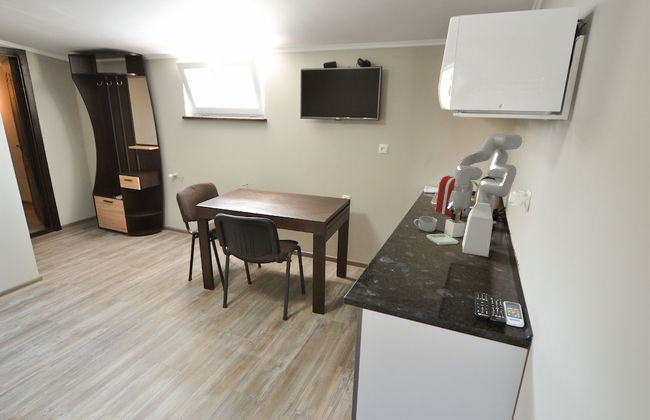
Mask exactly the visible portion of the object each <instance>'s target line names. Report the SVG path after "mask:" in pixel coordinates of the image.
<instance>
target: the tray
mask: <svg viewBox="0 0 650 420" xmlns="http://www.w3.org/2000/svg"><path fill="white" fill-rule="evenodd" d="M426 239H427V240H429V241H430V242H431V243H434V244H435V245H437V246H443V245H455V244H459V240H457V239H456V238H455V237H451V236H449V235H447V234H446V233H435V234H434V233H433V234H426Z"/></svg>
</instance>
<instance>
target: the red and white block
mask: <svg viewBox="0 0 650 420" xmlns="http://www.w3.org/2000/svg"><path fill="white" fill-rule="evenodd" d="M455 178H456V175H455V176H453V175H444V176H442V178H440V181H439V182H438V183H439V184H438V187H437V188H438V189H437V196H436V203H435V208H434V211H435V212H437V213H439V214H441V215H445V216H447V217H450V218H451V214H452V213H451V211H450V210H449V209H447V208H448V205H449V200H450V196H451V193H452V191H454V185H455ZM473 191H474V184H473V180H470V181H469V189H468V209H466V210H465V211H464V213H463V214H462V217H468V216H469V213H470V208H471V201H472V196H473ZM451 209H452V207H451Z"/></svg>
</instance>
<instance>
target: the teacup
mask: <svg viewBox="0 0 650 420" xmlns="http://www.w3.org/2000/svg"><path fill="white" fill-rule="evenodd" d="M417 222H418V224H417ZM437 223H438V219H437V218H435V217H433V216H430V215H429V216H428V215H422V216H421V215H420V216H419V218H416V219H414V220H413V224H414V225H415V226H416V227H417V228H418V229H419V230H421V231H422V232H425V233H432V232H434V231H435V230H436V228H437V225H438V224H437Z"/></svg>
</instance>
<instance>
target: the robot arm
mask: <svg viewBox="0 0 650 420" xmlns="http://www.w3.org/2000/svg"><path fill="white" fill-rule="evenodd" d="M522 143H523V137H522V136H521V135H520V134H513V133H490V134H489V135H488V136H486V137H485V139H484V141H483V142H482V143H481V145H480V146H479V148H477V150H476V151H475V152H471V153H470V154H468V155H467V156H465V157H463V159H462V160H461V161H460V162H459V164H458V165H457V167H456V170H455V177H456V178H455V185H454V191H452V193H451V196H450V200H449V205H448V208H447V209H449V210H450V211H451V213H452V214H451V217H450V219H452V220H455V218H456V214H455V213H456V210H457V209H461V213H460V219H459V220H460V221H462V218H463V216H462V214H463V213H464V211H465V210H466V209H468V189H469V181H470V180H471V181H478V180H480V179H481V178H482V176H483V171H482V169H481V168H480V167H477V166H473V165H474V164H477V163H482V162H487V161H489V160H490V159H491V161H490V163H489V166H488V168H487V172H486V173H487V176H488V177H489V178H483V179H482V180H480V182H479V185H478V199H477V203H485V204H490V208H491V213H492V214H493V212H494V208H495V203H496V202H495V196H496V197H500V198H505V197H507V196H508V195H509V193H510V192H511V189H512V186H513V184H514V181H515V179H516V175H517V167H516V166H515V165H513V164H510V163H509V164H508V159H509V154H508V151H507V150H509V151H511V150H517V149H519V148H520V147H521V145H522ZM492 178H494V179H492ZM499 179H500V180H499ZM451 207H452V209H451ZM496 224H497V221H495V220H493V224H492V225H496ZM493 228H494V227H493V226H492V229H493Z"/></svg>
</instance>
